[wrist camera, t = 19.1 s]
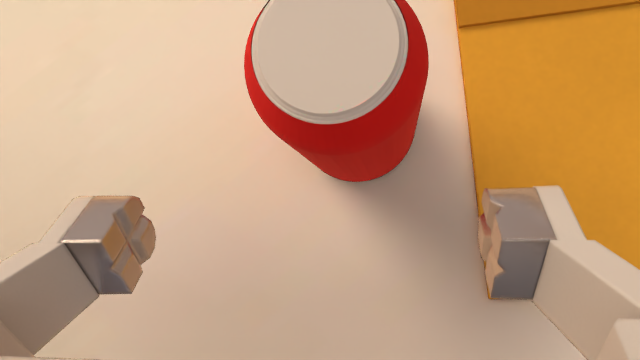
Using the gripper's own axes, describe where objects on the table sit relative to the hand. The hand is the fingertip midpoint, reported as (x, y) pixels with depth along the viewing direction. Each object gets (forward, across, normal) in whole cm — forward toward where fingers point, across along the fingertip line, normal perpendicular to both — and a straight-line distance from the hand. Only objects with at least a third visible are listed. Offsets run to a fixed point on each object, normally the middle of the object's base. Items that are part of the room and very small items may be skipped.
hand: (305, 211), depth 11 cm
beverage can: (+14, 0, +7) cm, 15 cm away
